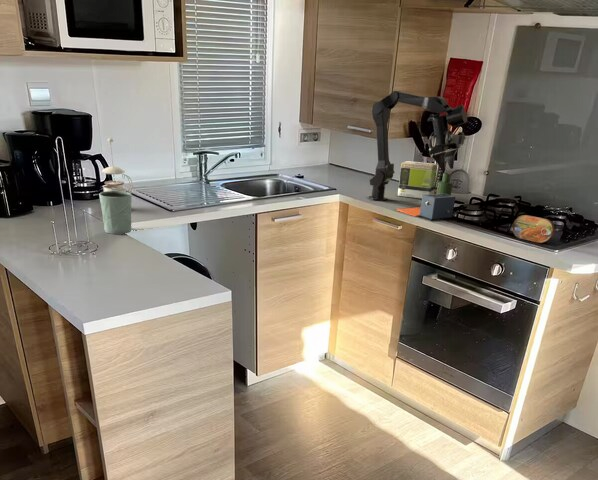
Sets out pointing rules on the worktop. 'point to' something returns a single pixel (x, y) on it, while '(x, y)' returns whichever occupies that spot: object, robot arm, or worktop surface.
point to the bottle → (445, 185)
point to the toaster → (437, 206)
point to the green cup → (116, 211)
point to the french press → (113, 171)
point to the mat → (411, 211)
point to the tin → (533, 228)
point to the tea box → (417, 179)
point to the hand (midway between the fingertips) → (447, 169)
